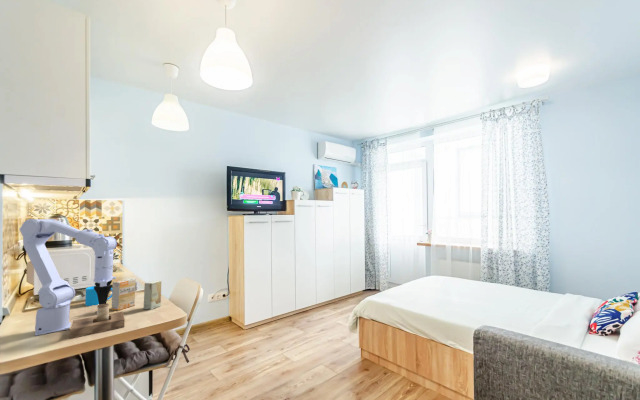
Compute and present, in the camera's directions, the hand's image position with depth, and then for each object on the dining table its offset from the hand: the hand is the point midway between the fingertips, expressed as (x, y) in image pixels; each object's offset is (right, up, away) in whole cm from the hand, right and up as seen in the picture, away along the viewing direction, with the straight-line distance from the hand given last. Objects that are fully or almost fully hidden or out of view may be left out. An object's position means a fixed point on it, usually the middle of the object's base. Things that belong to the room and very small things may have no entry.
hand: (102, 301), depth 110 cm
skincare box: (+6, -12, +23) cm, 26 cm away
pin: (0, -9, 0) cm, 9 cm away
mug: (-27, -13, +33) cm, 44 cm away
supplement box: (-8, -12, +23) cm, 27 cm away
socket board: (-1, -10, -1) cm, 10 cm away
